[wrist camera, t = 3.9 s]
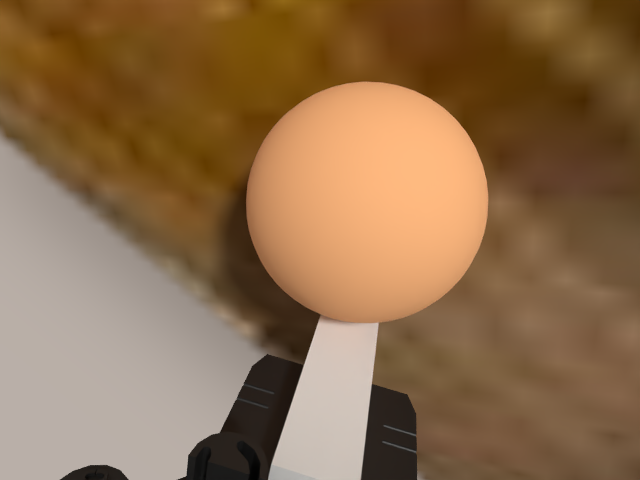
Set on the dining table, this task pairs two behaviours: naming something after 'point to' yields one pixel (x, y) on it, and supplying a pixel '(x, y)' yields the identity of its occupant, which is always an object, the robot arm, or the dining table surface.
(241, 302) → the dining table surface
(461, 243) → the ball
